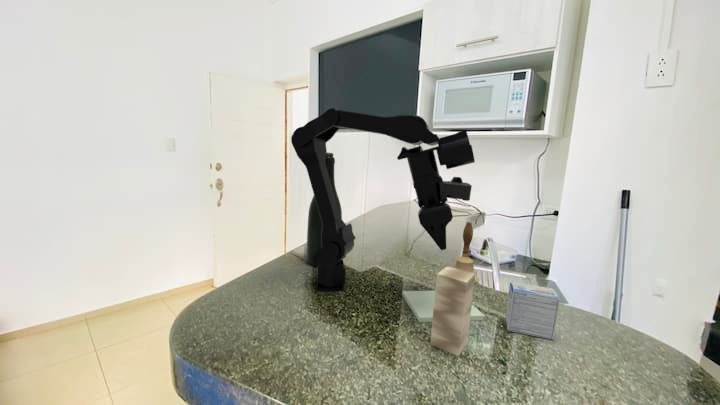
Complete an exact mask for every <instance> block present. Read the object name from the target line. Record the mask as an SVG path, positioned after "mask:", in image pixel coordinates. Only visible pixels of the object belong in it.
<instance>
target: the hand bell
mask: <svg viewBox="0 0 720 405" xmlns="http://www.w3.org/2000/svg"><path fill="white" fill-rule="evenodd" d="M473 228H474V227H473V224H472V222H469V221H467V222H466V224H465V226H464V228H463V231H462V239H463V250H462V255H461V256H460V257H459V256H458V257H457V258H456V263H455V265H454V267H453V268H455V269H459V270H463V271H467V272H471V273H475V282H474V284H476V283H479V282H480V279H479V276H478V275H477V274H476V271H475V268H474V260H473V259H472V258H470V257H469V256H470V246H471V243H472V241H473V236H474V229H473Z"/></svg>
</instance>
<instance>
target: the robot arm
mask: <svg viewBox="0 0 720 405" xmlns="http://www.w3.org/2000/svg"><path fill="white" fill-rule="evenodd" d="M429 127H430V126H429V125H428V123H427V121H426V120H425V119H424V118H423V117H422V116H420V115H417V114H400V115H399V114H398V115H393V116H381V115H377V114H376V115H375V114H369V113H362V112H356V111H355V112H354V111H349V110H341V109H337V108H335V107H331V108H328V109H326V111H325V112H323V113H322V114H321V115H319V116H317V117H316V118H313V119H311V120H310V121H308V122H306V123H305V124H304V125H303V126H299V127H298V128H296V129H295V130H294V131H293V133H292V135H291V137H290V140H291V144H292V147H293V149H294V151H295V153H296V156H297V157H298V159H299V160H300V161H301V163H303V165H304V166H305V169H306V171H307V176H308V178H309V183H310V186H311V189H312V192H313V196H315V200H316V203H317V207H318V210H319V214H320V217H321V221H322V233H321V242H322V249H321V250H320V251H319V252H317V253H316V254H315V255H314V256H313V257H312V258H313V262H314V265H316V266H315V267H316V268H317V270H316V279H315V281H316V282H315V283H316V291H343V290H344V285H346V266H345V265H344V259H346V257H347V255H348V254H349V253H350V252H352V250H353V248H354V247H355V240H356V236H355V235H354V232H353V226H352V224H351V223H348V224H346V222H344V220H343V218H342V219H341V217H340V213H339V210H338V206H337V203H336V199H335V196H334V192H333V189H332V185H331V182H330V178H329V174H328V171H327V167H326V163H325V161H326V153H328V152H327V143H328V142H329V141H331V139H333V137H334V136H335V135H336V134H337V132H338V131H339V130H340V129H348V130H352V131H353V130H355V131H359V132H360V131H361V132H366V133H372V134H378V135H385V136H387V137H390V138H393V139H396V140H398V141H401V142H404V143H406V144H409V145H413V146H416V147H412V148H407V147H406V146H403V147H401V151H400V153H399V154H398V155H397V156H396V158H397V160H398V161H400V160H404V159H407V163H408V167H409V171H410V175H411V179H412V185H413V189H414V191H415V194H416V195H415V196H416V198H417V204H418V207H419V210H418V211H417V216H418V221H419V224H420V225H421V227H422V228H423V229H424V230H425V231H426V233H427V234H428V235H429V237H430V238H431V239H432V240H433V241H434V243H435V244H436V246H438V248H439V250H441V251H445V250H447V226H448V224H450V222H452V220H453V218H454V216H453V212H452V208H451V206H450V204H448V203H447V202H448V201H449V200H448V199H456V200H462V201H466V202H467V201H469V202H470V200H471V199H470V198H471V194H472V193H471V192H472V184H470V183H469V182H464V181H463V179H462V177H461V176H460V177H459V176H453V177H452V178H451V180H447V181H446V180H443V177H442V176H441V175H440V172H439V167H438V164H437V160H436V156H435V151H436V153H437V158H438V163H439V165H440V167H441V166H445V167H446V170H449V169H453V168H457V167H462V166H466V165H470V164H474V163H475V155H474V150H473V146H472V144H471V143H470V139H469V136H468V131H467V130H466V129H464V130H461V131H458V132H456V133H453V134H449V135H446V136H443V137H439V136H438V134H436V133H435V134H434V133H433V132H432V131H431V130H430V128H429ZM421 144H425V145H428V146H431V148H427V149H423V147H422V145H421ZM436 145H438V146H436Z"/></svg>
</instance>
